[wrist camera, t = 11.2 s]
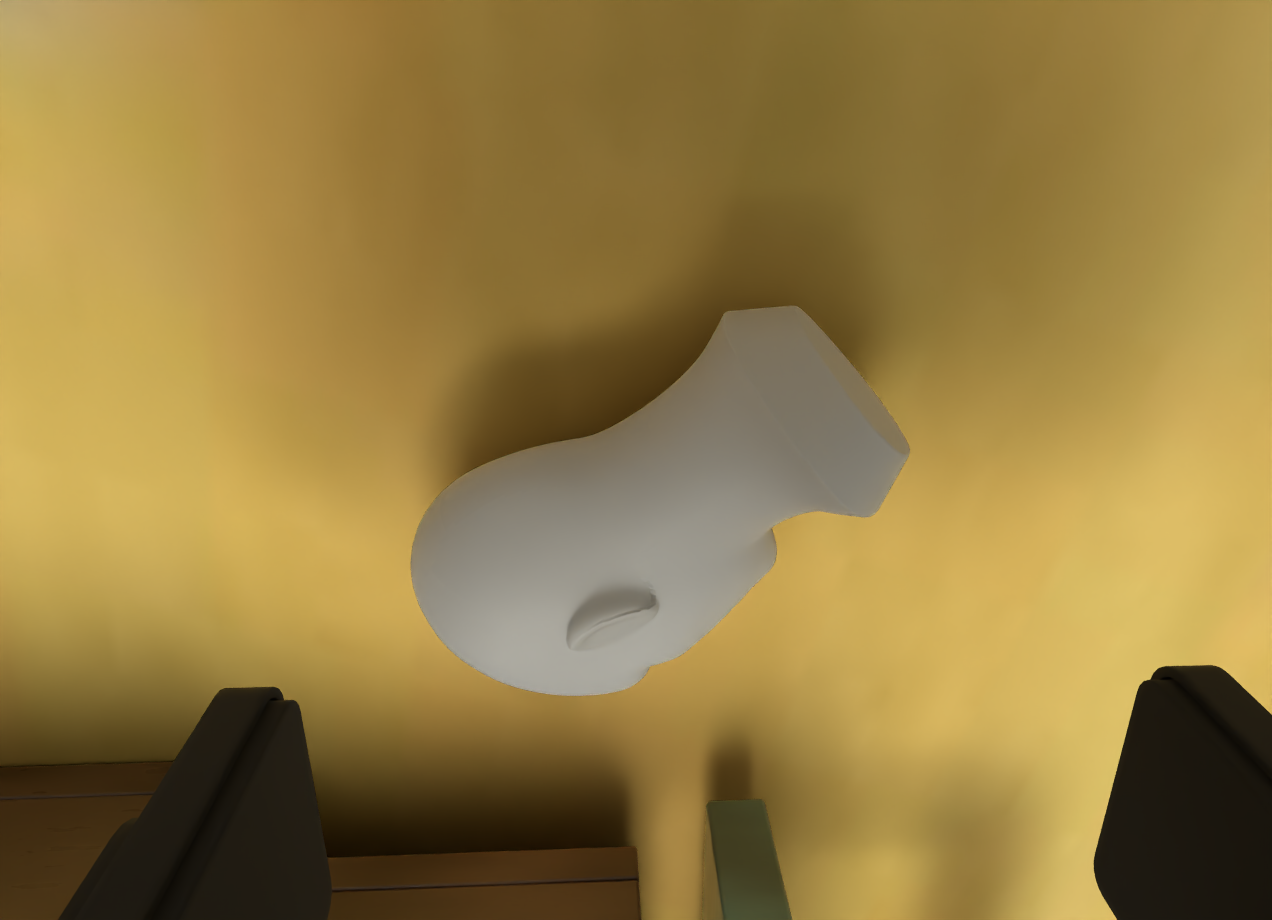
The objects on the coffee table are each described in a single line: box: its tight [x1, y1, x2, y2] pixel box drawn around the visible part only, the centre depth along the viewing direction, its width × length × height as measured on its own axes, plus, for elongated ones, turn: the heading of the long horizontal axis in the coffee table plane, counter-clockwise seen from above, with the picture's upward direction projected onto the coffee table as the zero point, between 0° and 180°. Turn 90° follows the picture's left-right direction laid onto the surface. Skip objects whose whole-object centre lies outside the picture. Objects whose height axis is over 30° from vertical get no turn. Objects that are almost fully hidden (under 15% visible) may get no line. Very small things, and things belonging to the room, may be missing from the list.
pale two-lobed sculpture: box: [411, 305, 910, 696], centre depth 15 cm, size 4×8×5 cm
